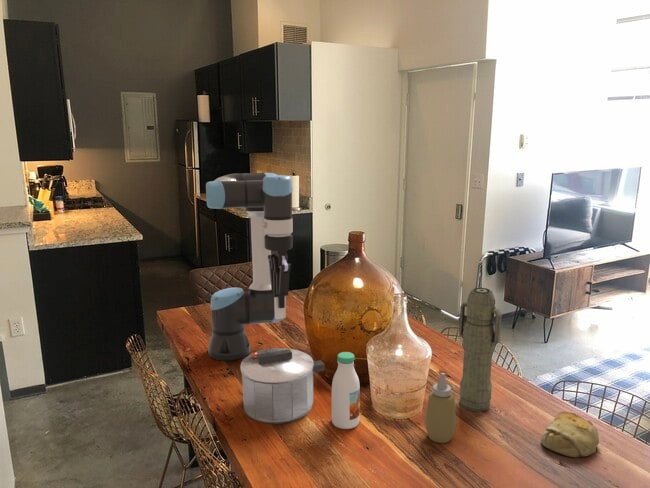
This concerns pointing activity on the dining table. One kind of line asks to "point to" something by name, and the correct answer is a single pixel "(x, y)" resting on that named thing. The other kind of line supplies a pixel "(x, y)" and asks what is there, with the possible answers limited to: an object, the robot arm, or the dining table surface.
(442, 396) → the squeeze bottle
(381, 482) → the dining table surface
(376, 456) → the dining table surface
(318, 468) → the dining table surface
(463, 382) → the thermos
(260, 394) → the pot
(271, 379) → the lid
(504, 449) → the dining table surface
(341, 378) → the milk bottle
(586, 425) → the pastry
